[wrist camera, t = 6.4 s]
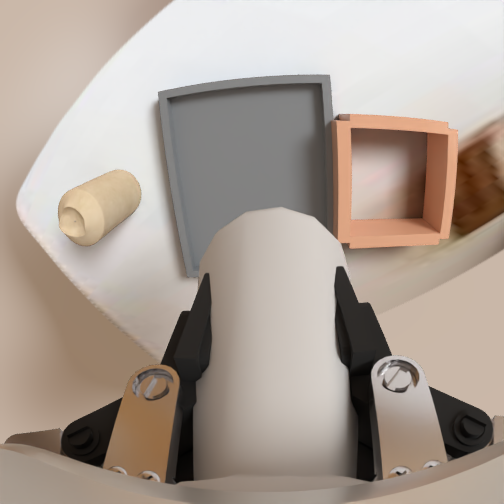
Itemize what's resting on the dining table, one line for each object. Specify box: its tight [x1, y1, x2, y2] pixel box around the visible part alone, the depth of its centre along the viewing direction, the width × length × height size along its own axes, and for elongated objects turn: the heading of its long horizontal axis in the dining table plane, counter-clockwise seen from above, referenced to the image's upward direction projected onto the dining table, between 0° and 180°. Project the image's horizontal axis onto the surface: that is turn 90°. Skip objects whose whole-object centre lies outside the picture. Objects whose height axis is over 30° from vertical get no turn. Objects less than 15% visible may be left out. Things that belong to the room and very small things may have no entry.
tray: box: [158, 75, 335, 277], centre depth 29 cm, size 16×20×2 cm
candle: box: [58, 170, 141, 246], centre depth 27 cm, size 6×6×10 cm
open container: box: [331, 114, 458, 249], centre depth 26 cm, size 12×12×4 cm
